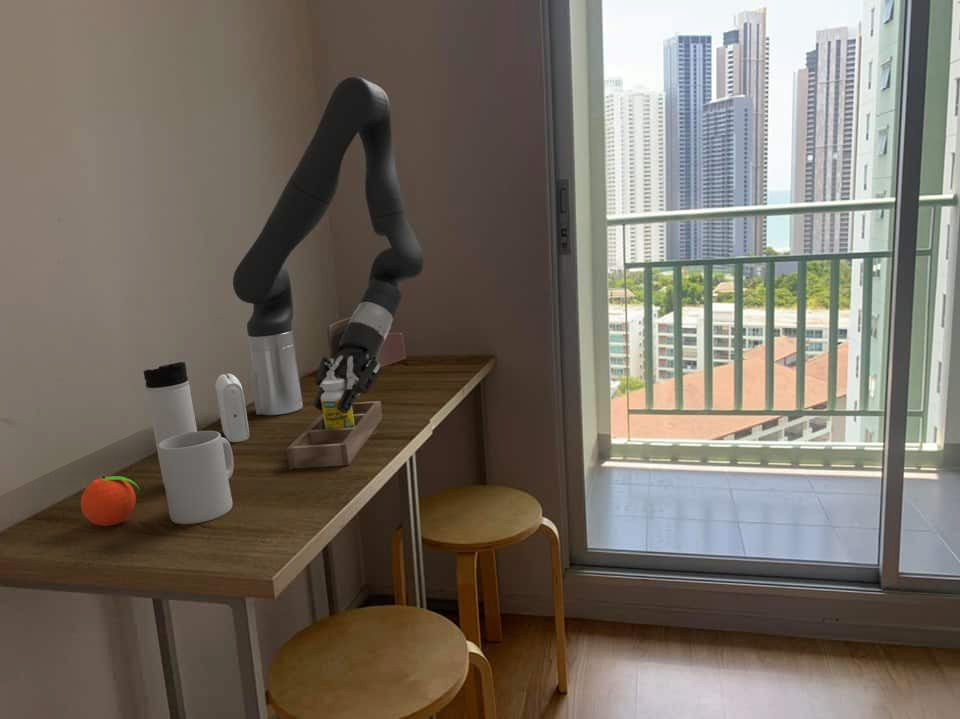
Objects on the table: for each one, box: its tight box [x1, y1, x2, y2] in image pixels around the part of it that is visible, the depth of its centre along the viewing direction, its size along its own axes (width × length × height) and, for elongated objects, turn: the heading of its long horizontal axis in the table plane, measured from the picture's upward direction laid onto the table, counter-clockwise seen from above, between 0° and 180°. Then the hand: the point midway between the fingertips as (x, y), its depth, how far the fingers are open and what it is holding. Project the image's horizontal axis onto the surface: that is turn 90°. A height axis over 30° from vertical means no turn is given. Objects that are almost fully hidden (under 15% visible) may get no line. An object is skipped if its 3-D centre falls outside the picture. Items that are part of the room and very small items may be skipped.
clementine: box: [80, 475, 141, 527], centre depth 104 cm, size 8×7×7 cm
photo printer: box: [215, 373, 250, 443], centre depth 144 cm, size 10×4×12 cm, turn 27°
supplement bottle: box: [321, 378, 355, 429], centre depth 134 cm, size 5×5×10 cm
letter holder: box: [326, 316, 407, 375], centre depth 201 cm, size 10×20×14 cm, turn 147°
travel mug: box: [143, 361, 198, 488], centre depth 117 cm, size 6×7×20 cm
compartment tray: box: [286, 400, 383, 470], centre depth 135 cm, size 10×28×4 cm, turn 176°
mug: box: [157, 430, 235, 525], centre depth 107 cm, size 12×8×11 cm
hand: (330, 409), depth 132 cm, fingers closed on supplement bottle, 5 cm apart
